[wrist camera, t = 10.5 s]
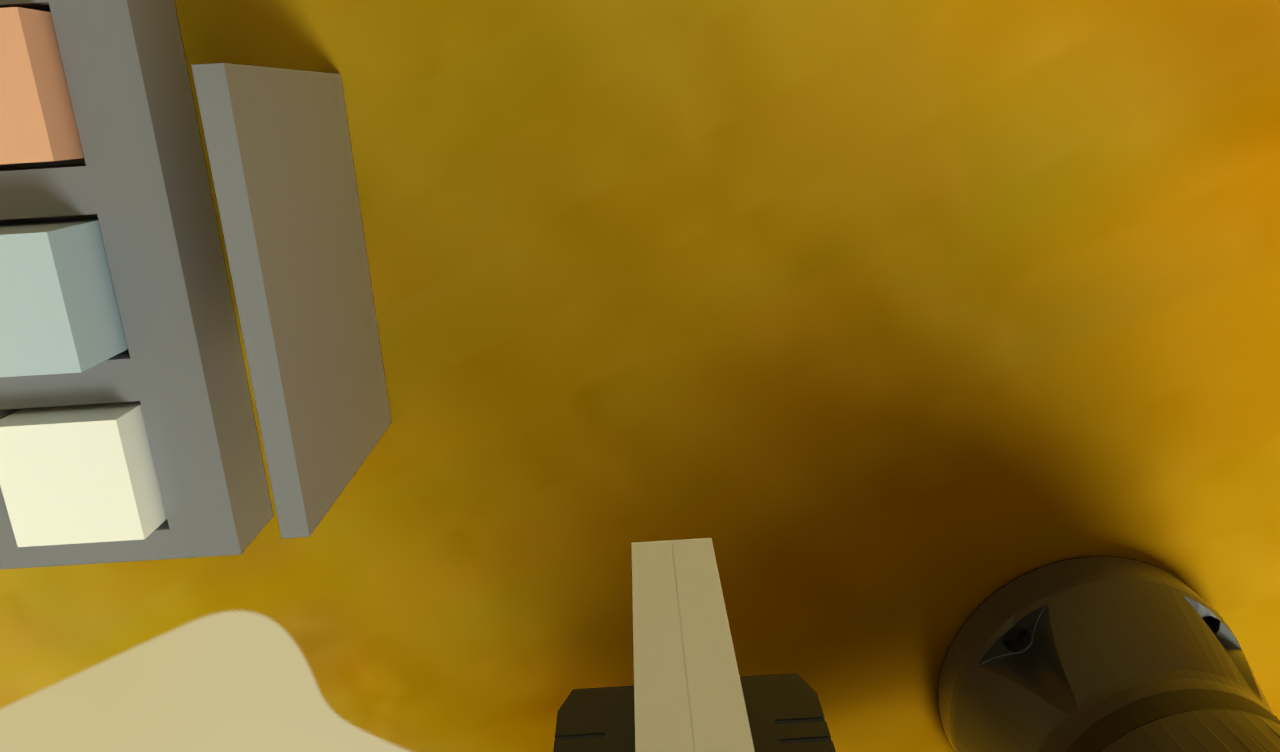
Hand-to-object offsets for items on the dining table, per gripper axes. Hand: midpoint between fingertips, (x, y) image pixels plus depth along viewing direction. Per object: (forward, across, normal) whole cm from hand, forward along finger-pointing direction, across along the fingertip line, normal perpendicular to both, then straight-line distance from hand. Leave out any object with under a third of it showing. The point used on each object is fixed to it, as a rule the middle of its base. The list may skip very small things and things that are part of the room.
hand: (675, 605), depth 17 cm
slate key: (+23, +25, -3) cm, 34 cm away
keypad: (+26, +22, -3) cm, 34 cm away
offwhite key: (+25, +25, +5) cm, 36 cm away
